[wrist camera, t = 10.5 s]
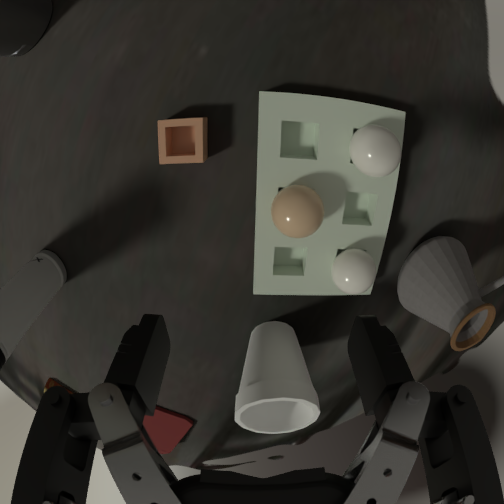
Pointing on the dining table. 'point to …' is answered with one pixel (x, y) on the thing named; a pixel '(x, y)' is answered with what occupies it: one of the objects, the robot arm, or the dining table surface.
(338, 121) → the egg tray
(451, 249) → the coffee pot
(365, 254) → the white egg
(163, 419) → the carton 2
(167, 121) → the egg cup
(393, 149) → the white egg
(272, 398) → the foam cup
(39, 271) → the travel mug
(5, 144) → the dining table surface
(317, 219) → the brown egg
